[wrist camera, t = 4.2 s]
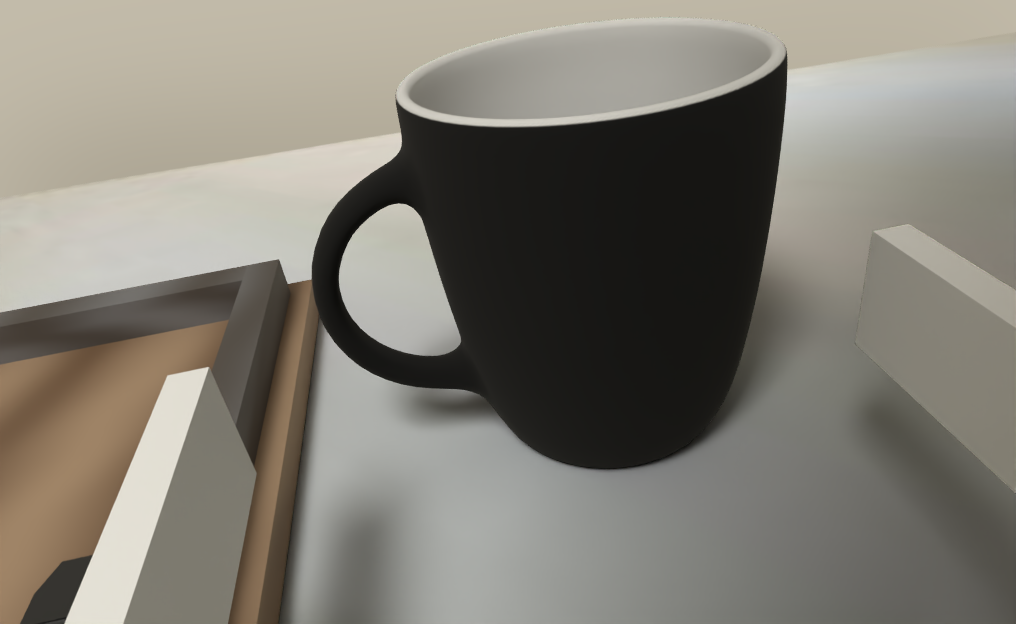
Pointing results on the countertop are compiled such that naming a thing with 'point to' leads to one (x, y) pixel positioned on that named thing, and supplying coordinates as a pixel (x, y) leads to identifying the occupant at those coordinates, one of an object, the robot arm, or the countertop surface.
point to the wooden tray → (148, 414)
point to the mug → (584, 226)
